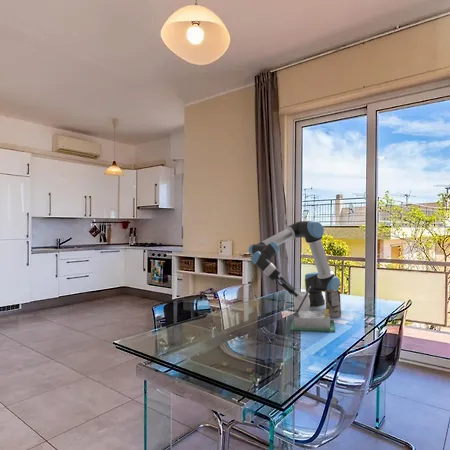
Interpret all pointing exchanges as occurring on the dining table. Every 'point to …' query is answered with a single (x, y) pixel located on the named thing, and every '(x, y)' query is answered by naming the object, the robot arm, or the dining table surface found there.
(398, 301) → the dining table surface
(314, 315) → the heat sink
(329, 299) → the coffee box
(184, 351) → the dining table surface
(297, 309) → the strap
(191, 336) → the dining table surface
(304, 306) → the jar
